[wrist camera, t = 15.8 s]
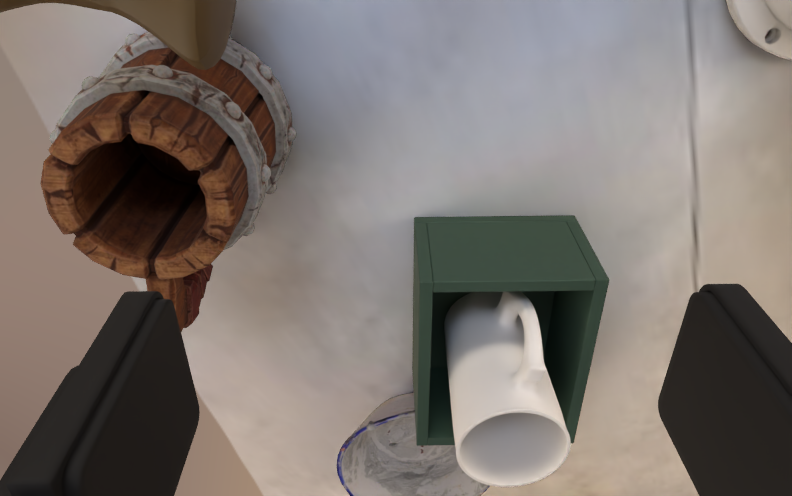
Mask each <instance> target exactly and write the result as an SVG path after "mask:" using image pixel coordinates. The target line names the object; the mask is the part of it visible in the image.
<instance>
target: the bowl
mask: <svg viewBox="0 0 792 496" xmlns="http://www.w3.org/2000/svg"><path fill="white" fill-rule="evenodd" d="M337 473H338V476H339V478H340V481H341V483H342V485H343V486H344V488H345V489H346V491H347V492H348V493H349V494H350V496H481V495H482V494H483V493H484V492H485V491H486V490H487V489H488V488H489V485H486V484H483V483H480V482H478V481H476V480H474V479H472V478H471V477H469V476H468V475H467V474H466V473H465V472H464V471H463V470H462V469H461V467H460V466H459V464H458V461H457V457H456V447H455V445H434V446H428V445H427V446H417V445H416V426H415V407H414V393H410V394H403V395H400V396H396V397H394V398H391V399H389V400H387V401H386V402H384V403H383V404H381V405H380V406H379V407H378V408H377V409H376V410H374V411H373V412H372V413H371V414H370V415H369V416H368V418H367V419H366V420H365V421H364V422H363V423H362V424H361V425H360V427H359V428H358V429H357V430H356V431H355V432H354V433H353V434H352V435H351V436H350V437H349V438H348V439H347V440H346V441H345V443H344V444H343V446H342V447H341V449H340V452H339V454H338V459H337Z"/></svg>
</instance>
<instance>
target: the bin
mask: <svg viewBox="0 0 792 496" xmlns="http://www.w3.org/2000/svg"><path fill="white" fill-rule="evenodd" d="M608 283H609V279H608V277H607V275H606V273H605V271H604V269H603V267H602V266H601V264H600V262H599V260H598V258H597V256H596V254H595V253H594V251H593V249H592V247H591V245H590V243H589V242H588V240H587V238H586V236H585V234H584V232H583V230H582V229H581V227H580V225H579V223H578V221H577V219H576V218H575V216H492V217H415V218H414V283H413V367H412V369H413V388H414V407H415V426H416V445H417V446H427V445H428V446H434V445H455V440H454V432H453V422H452V411H451V400H450V389H449V378H448V367H447V357H446V346H445V331H444V322H445V317H446V315H447V312H448V311H449V309H450V308H451V306H452V305H453V304H454V303H455V302H456V301H457V300H459V299H460V298H462V297H463V296H465V295H467V294H469V293H472V292H512V291H521V292H522V293H523V294H524V295H525V296H526V297H527V298H528V299H529V300H530V301H531V303H532V304H533V306H534V309H535V311H536V314H537V317H538V321H539V326H540V331H541V338H542V347H543V358H544V363H545V366H546V369H547V372H548V375H549V377H550V380H551V383H552V386H553V389H554V391H555V394H556V397H557V400H558V403H559V406H560V408H561V411H562V415H563V418H564V421H565V425H566V428H567V431H568V433H569V435H570V440H571V443H574V439H575V434H576V429H577V425H578V420H579V416H580V411H581V407H582V402H583V397H584V393H585V388H586V384H587V379H588V375H589V370H590V365H591V361H592V356H593V352H594V347H595V343H596V338H597V333H598V329H599V324H600V320H601V315H602V311H603V306H604V302H605V297H606V292H607V288H608Z"/></svg>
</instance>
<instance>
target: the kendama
mask: <svg viewBox="0 0 792 496" xmlns="http://www.w3.org/2000/svg"><path fill="white" fill-rule="evenodd" d="M38 3H63V4H70V5H77V6H82V7H87V8H92V9H98V10H103V11H109V12H113V13H116V14H118V15H121V16H123V17H125V18H127V19H129V20H131V21H133V22H135V23H137V24H138V25H140V26H141V27H143V28H144V29H146V30H147V31H148V32H150V33H151V34H152V35H154V36H155V37H156V38H158V39H159V40H160V41H161V42H163V43H164V44H165V45H166V46H168V47H169V48H170V49H171V50H172V51H174V52H175V53H176V54H177V55H179V56H180V57H181V58H183V59H184V60H185V61H187V62H188V63H189V64H191V65H192V66H194V67H196V68H197V69H201V70H207V69H209V68H211V67H214V66H215V65H216V64H217V63H218V61H219V60H220V59H221V57H222V55H223V53H224V51H225V49H226V46H227V42H228V39H229V35H230V31H231V28H232V23H233V18H234V12H235V7H236V0H0V12H4V11H7V10H11V9H15V8H19V7H23V6H27V5H33V4H38Z"/></svg>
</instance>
